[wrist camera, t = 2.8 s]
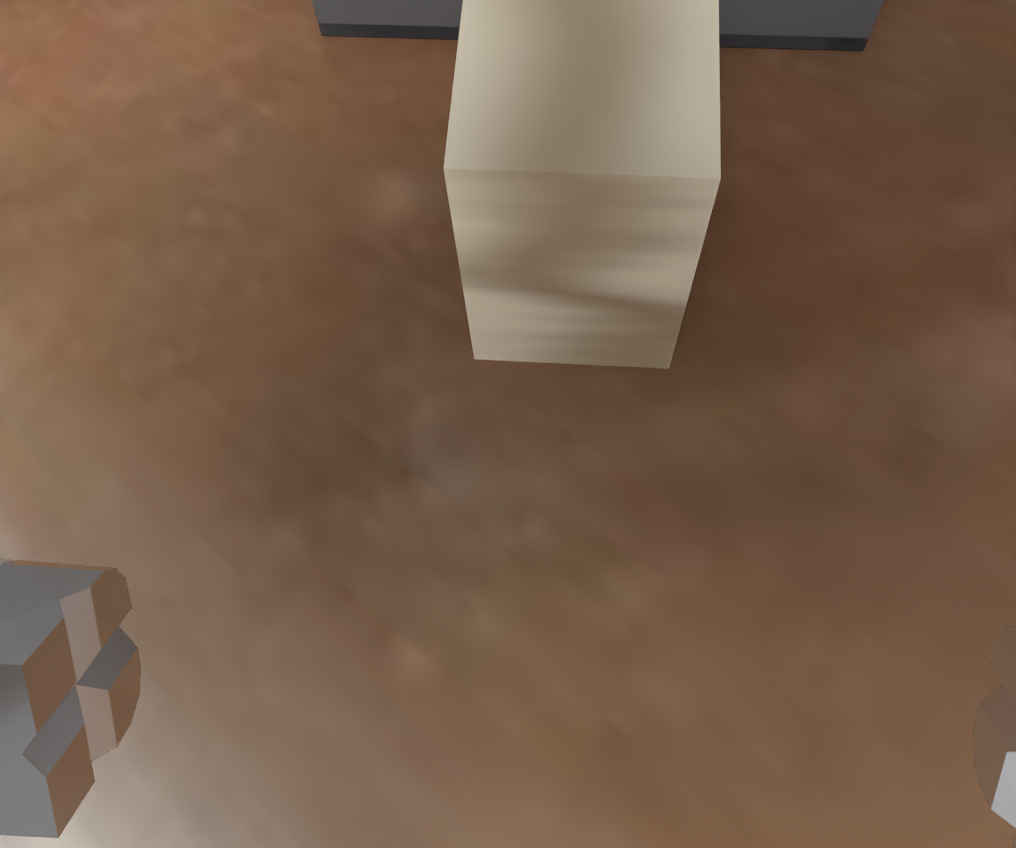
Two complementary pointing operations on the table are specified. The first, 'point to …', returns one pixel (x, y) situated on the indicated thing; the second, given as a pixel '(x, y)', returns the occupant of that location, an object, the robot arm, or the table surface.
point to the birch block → (582, 174)
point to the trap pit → (742, 21)
